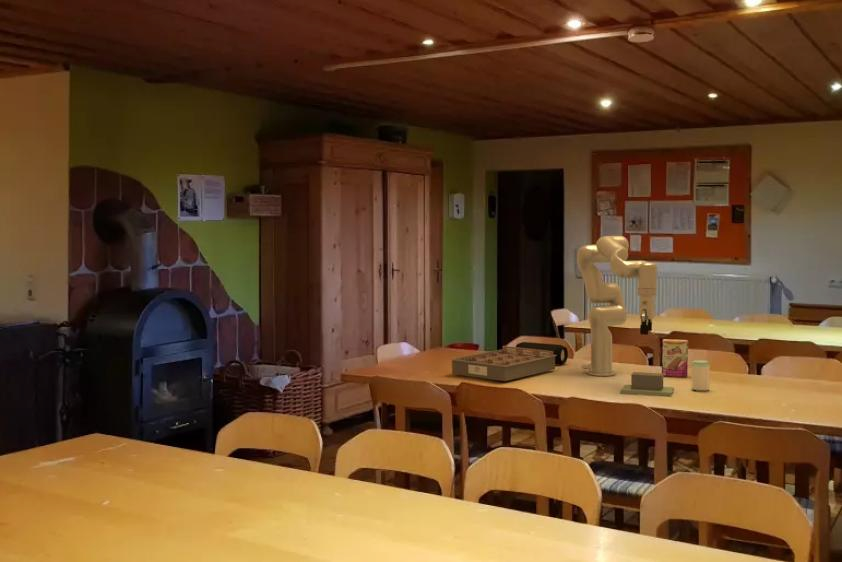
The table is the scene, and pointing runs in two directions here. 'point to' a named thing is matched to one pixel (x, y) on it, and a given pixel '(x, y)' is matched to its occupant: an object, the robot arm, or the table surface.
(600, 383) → the table surface
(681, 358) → the candy bar box
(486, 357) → the organizer tray
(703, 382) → the can
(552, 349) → the portable speaker
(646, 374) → the plug housing
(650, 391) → the pin board
